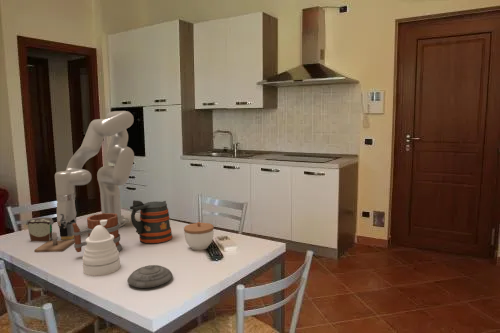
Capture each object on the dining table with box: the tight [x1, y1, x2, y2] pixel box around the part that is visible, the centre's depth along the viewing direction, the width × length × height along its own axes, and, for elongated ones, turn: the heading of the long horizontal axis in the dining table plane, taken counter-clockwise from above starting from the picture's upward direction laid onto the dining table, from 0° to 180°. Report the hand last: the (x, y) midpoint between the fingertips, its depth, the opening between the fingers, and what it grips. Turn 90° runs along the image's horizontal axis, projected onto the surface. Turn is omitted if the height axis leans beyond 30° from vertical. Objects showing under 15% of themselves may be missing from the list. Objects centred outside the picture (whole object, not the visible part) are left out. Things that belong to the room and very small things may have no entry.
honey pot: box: [82, 220, 121, 277], centre depth 142 cm, size 13×13×18 cm
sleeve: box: [60, 221, 77, 241], centre depth 181 cm, size 5×5×7 cm
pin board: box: [34, 231, 75, 253], centre depth 168 cm, size 12×12×7 cm
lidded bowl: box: [183, 221, 215, 251], centre depth 163 cm, size 13×13×11 cm
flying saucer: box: [127, 264, 173, 289], centre depth 131 cm, size 15×15×6 cm
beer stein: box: [129, 200, 173, 244], centre depth 174 cm, size 19×15×20 cm
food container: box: [25, 217, 54, 243], centre depth 179 cm, size 12×6×10 cm, turn 84°
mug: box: [72, 212, 123, 253], centre depth 160 cm, size 14×19×15 cm
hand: (68, 233), depth 181 cm, fingers open, 9 cm apart
